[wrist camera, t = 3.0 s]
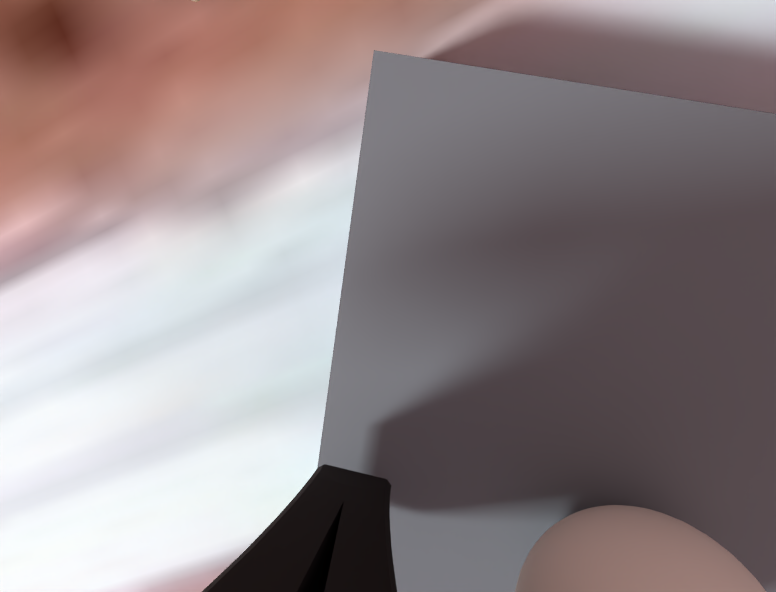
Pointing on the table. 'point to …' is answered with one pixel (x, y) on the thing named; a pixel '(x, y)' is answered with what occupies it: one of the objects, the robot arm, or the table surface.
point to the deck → (555, 317)
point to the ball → (630, 556)
